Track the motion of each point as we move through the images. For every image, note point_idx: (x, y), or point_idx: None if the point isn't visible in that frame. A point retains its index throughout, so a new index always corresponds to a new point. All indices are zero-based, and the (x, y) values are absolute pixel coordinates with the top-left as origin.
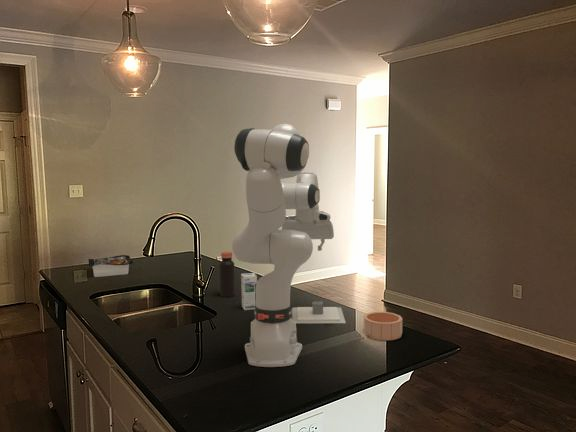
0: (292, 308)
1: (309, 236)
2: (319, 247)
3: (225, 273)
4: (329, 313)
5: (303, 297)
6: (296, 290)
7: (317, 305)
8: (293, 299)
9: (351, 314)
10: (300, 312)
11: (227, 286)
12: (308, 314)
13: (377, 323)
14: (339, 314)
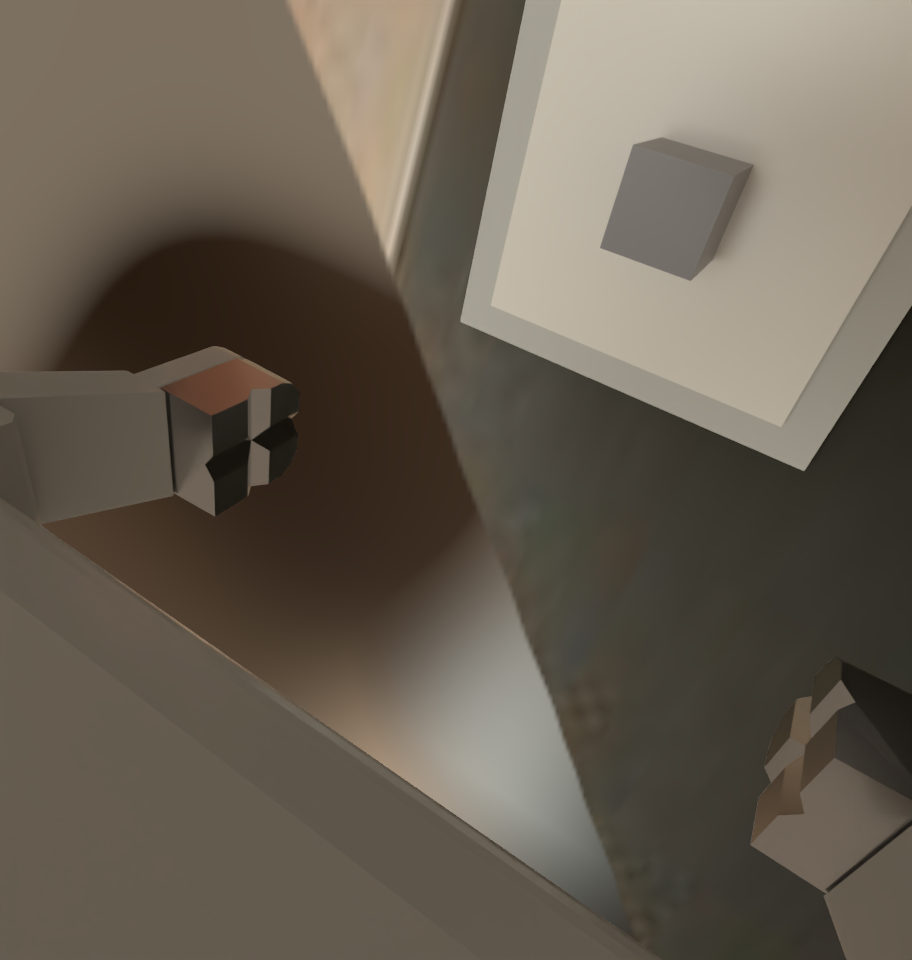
0: (816, 449)
1: (79, 740)
2: (204, 387)
3: None
4: (598, 151)
5: (597, 646)
6: (583, 762)
7: (689, 161)
8: (675, 651)
9: (435, 189)
10: (837, 268)
11: None
12: (794, 177)
13: None
14: (521, 154)
